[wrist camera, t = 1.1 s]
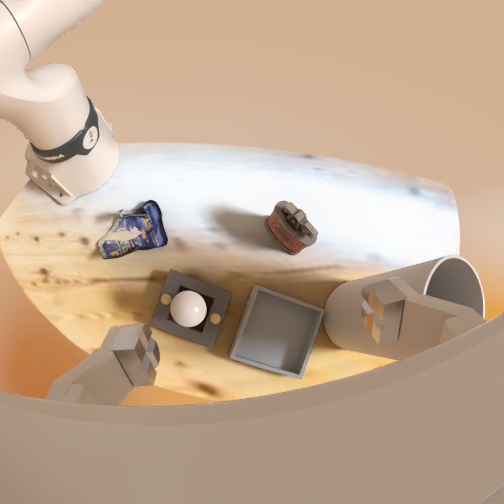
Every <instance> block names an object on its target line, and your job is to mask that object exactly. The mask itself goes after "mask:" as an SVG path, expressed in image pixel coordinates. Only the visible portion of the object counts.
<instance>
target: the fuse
mask: <svg viewBox="0 0 504 504" xmlns="http://www.w3.org/2000/svg"><path fill="white" fill-rule="evenodd" d="M170 310H171V315H172V317H173V319H174V320H175V321H176V322H177V323H178V324H180V325H182V326H185V327H193V326H196V325H198V324H199V323H201V322H202V320H203V319H204V317H205V315H206V303H205V301H204V299H203V298H202V297H201V296H200V295H199V294H198V293H196V292H193V291H183V292H180V293H179V294H177V295H176V296H175V297H174V298H173V300H172V302H171V307H170Z"/></svg>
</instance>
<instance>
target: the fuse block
mask: <svg viewBox="0 0 504 504" xmlns="http://www.w3.org/2000/svg"><path fill="white" fill-rule="evenodd" d="M181 287H184V288H186V289H189V290H191V291H194V292H197V293H199V294H202V295H204V296H207V297H210V298H212V299H214V301H213V303H212V306H211V309H210V311H209V314H208V317H207V320H206V322H205V325H204V328H203V331H202V332H201V331H199V330H196V329H194V328H191V327H185V326H182V325H180V324H178V323H177V322H176V321H173V320H171V319H169V318H170V316H171V310H170V307H171V302H172V300H173V298H174V297H175V296H176V295H177V294H179V292H180V289H181ZM231 295H232V293H231V292H228V291H226V290H223V289H220V288H218V287H215V286H212V285H210V284H207V283H205V282H202V281H200V280H197V279H194V278H192V277H189V276H187V275H184V274H182V273H179V272H177V271H174V270H172V269H170V272H169V274H168V277H167V280H166V282H165V285H164V287H163V290H162V293H161V295H160V298H159V300H158V303H157V306H156V309H155V311H154V314H153V317H152V320H151V322H150V325H153V326H155V327H157V328H160V329H162V330H165V331H167V332H169V333H172V334H174V335H177V336H179V337H182V338H185V339H187V340H190V341H192V342H195V343H198V344H200V345H203V346H206V347H209V348H213V345H214V342H215V339H216V337H217V334H218V331H219V328H220V326H221V323H222V320H223V317H224V315H225V312H226V309H227V306H228V304H229V301H230V298H231Z"/></svg>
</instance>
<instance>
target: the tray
mask: <svg viewBox="0 0 504 504" xmlns="http://www.w3.org/2000/svg"><path fill="white" fill-rule="evenodd" d="M324 311H325V309H323V308H320V307H317V306H314V305H311V304H308V303H306V302H303V301H300V300H297V299H295V298H292V297H289V296H286V295H283V294H281V293H278V292H275V291H272V290H270V289H267V288H264V287H262V286H259V285H254V286H253V288H252V290H251V293H250V296H249V299H248V302H247V305H246V307H245V310H244V313H243V316H242V319H241V321H240V324H239V327H238V330H237V332H236V335H235V338H234V341H233V344H232V346H231V349H230V352H229V355H228V356H229V357H230V358H231V359H234V360H237V361H240V362H243V363H246V364H249V365H253V366H256V367H259V368H262V369H266V370H269V371H273V372H276V373H280V374H284V375H287V376H291V377H295V378H299V379H302V376H303V374H304V371H305V368H306V365H307V363H308V360H309V357H310V354H311V351H312V348H313V345H314V342H315V339H316V336H317V333H318V330H319V327H320V324H321V321H322V317H323V314H324Z"/></svg>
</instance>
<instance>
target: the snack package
mask: <svg viewBox="0 0 504 504" xmlns="http://www.w3.org/2000/svg"><path fill="white" fill-rule="evenodd" d="M117 212H118V213H119V215H120V217H119V218H118V219H117V221H116V222H115V223H114V226H113V227H112V229H111V230H109V232H108V233H107V234H106V235H105V236H104V237H103V238H102V239H101V240H100V241H99V243H98V245H99V248H100V252H101V254H102V258H103V259H113V258H119V257H122V256H124V255H127V254H129V253H132V252H133V251H135V250H149V249H153V248H157V247H162V246H165V245H166V244H167V242H168V238H167V235H166V232H165V229H164V227H163V222H162V213H161V210H160V208H159V206H158V204H157V203H156V202H155V201H153V200H149V201H147V202H146V203H145V204H144V205H143V206H142V207H140V208H138V209H136V210H134V211H124V210H120V211H117ZM159 215H160V218H159V221H160V225H159V222H158V217H159ZM134 226H136V228H138V230H140V231H142V234H140V235H138V236H137V237H136V238H134V239H131V240H128V241H117V240H112V241H108V240H107V241H105V240H106V237H107V236H108V235H109V234H110V233H112V232H116V231H117V232H118V231H123V230H124V231H131V230H132V229H133V228H134ZM103 241H105V243H104V245H103V246H102V242H103Z"/></svg>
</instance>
